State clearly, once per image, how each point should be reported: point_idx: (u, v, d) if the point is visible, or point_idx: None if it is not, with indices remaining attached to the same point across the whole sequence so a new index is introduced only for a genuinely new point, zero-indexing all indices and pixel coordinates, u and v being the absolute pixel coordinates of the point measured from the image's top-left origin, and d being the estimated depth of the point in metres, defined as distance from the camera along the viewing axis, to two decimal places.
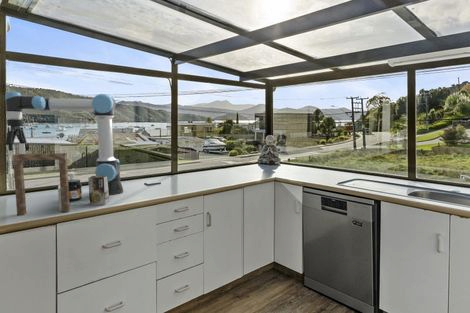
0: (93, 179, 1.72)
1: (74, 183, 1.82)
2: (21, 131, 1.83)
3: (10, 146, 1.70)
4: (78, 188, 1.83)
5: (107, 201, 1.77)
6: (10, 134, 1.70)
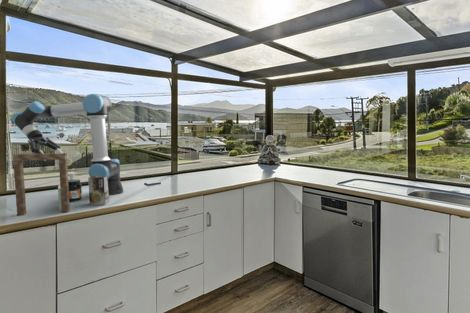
0: (93, 179, 1.72)
1: (74, 183, 1.82)
2: (48, 140, 1.92)
3: (38, 152, 1.77)
4: (78, 188, 1.83)
5: (107, 201, 1.77)
6: (31, 143, 1.78)
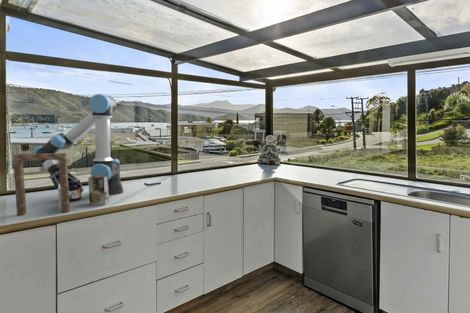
0: (93, 179, 1.72)
1: (74, 183, 1.82)
2: (68, 174, 1.91)
3: None
4: (78, 188, 1.83)
5: (107, 201, 1.77)
6: (54, 179, 1.78)
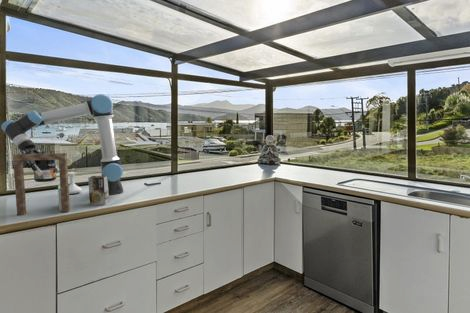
0: (93, 179, 1.72)
1: (46, 161, 1.62)
2: (42, 152, 1.72)
3: (32, 166, 1.59)
4: (51, 167, 1.64)
5: (107, 201, 1.77)
6: None
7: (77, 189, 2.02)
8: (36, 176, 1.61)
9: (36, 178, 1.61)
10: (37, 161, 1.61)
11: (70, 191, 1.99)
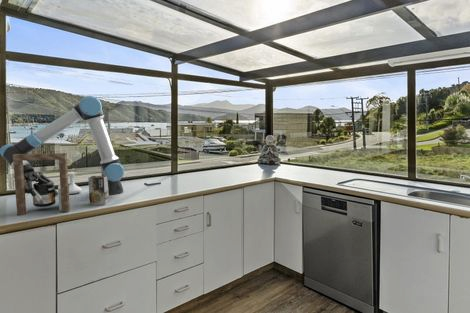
0: (93, 179, 1.72)
1: (46, 186, 1.61)
2: (41, 175, 1.70)
3: (31, 192, 1.57)
4: (50, 192, 1.62)
5: (107, 201, 1.77)
6: None
7: (77, 189, 2.02)
8: (35, 201, 1.60)
9: (35, 203, 1.60)
10: (36, 186, 1.59)
11: (70, 191, 1.99)
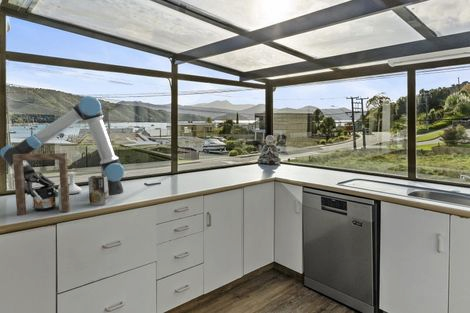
0: (93, 179, 1.72)
1: (46, 190, 1.61)
2: (41, 177, 1.71)
3: (31, 193, 1.57)
4: (51, 196, 1.63)
5: (107, 201, 1.77)
6: None
7: (77, 189, 2.02)
8: (36, 205, 1.60)
9: (36, 207, 1.60)
10: (36, 190, 1.59)
11: (70, 191, 1.99)
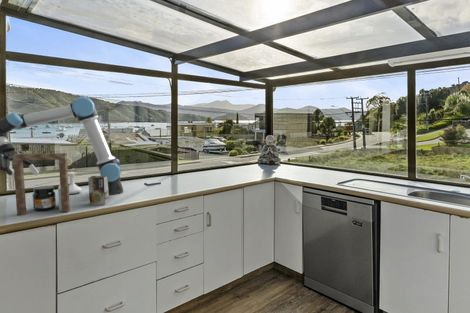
0: (93, 179, 1.72)
1: (46, 190, 1.61)
2: None
3: (7, 170, 1.58)
4: (51, 196, 1.63)
5: (107, 201, 1.77)
6: (0, 160, 1.59)
7: (77, 189, 2.02)
8: (35, 205, 1.60)
9: (35, 207, 1.60)
10: (36, 190, 1.59)
11: (70, 191, 1.99)
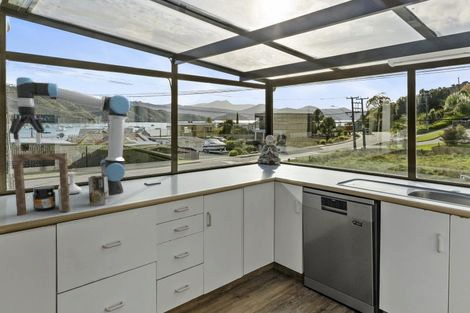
0: (93, 179, 1.72)
1: (46, 190, 1.61)
2: (37, 120, 1.73)
3: (15, 135, 1.60)
4: (51, 196, 1.63)
5: (107, 201, 1.77)
6: (15, 122, 1.59)
7: (77, 189, 2.02)
8: (35, 205, 1.60)
9: (35, 207, 1.60)
10: (36, 190, 1.59)
11: (70, 191, 1.99)
